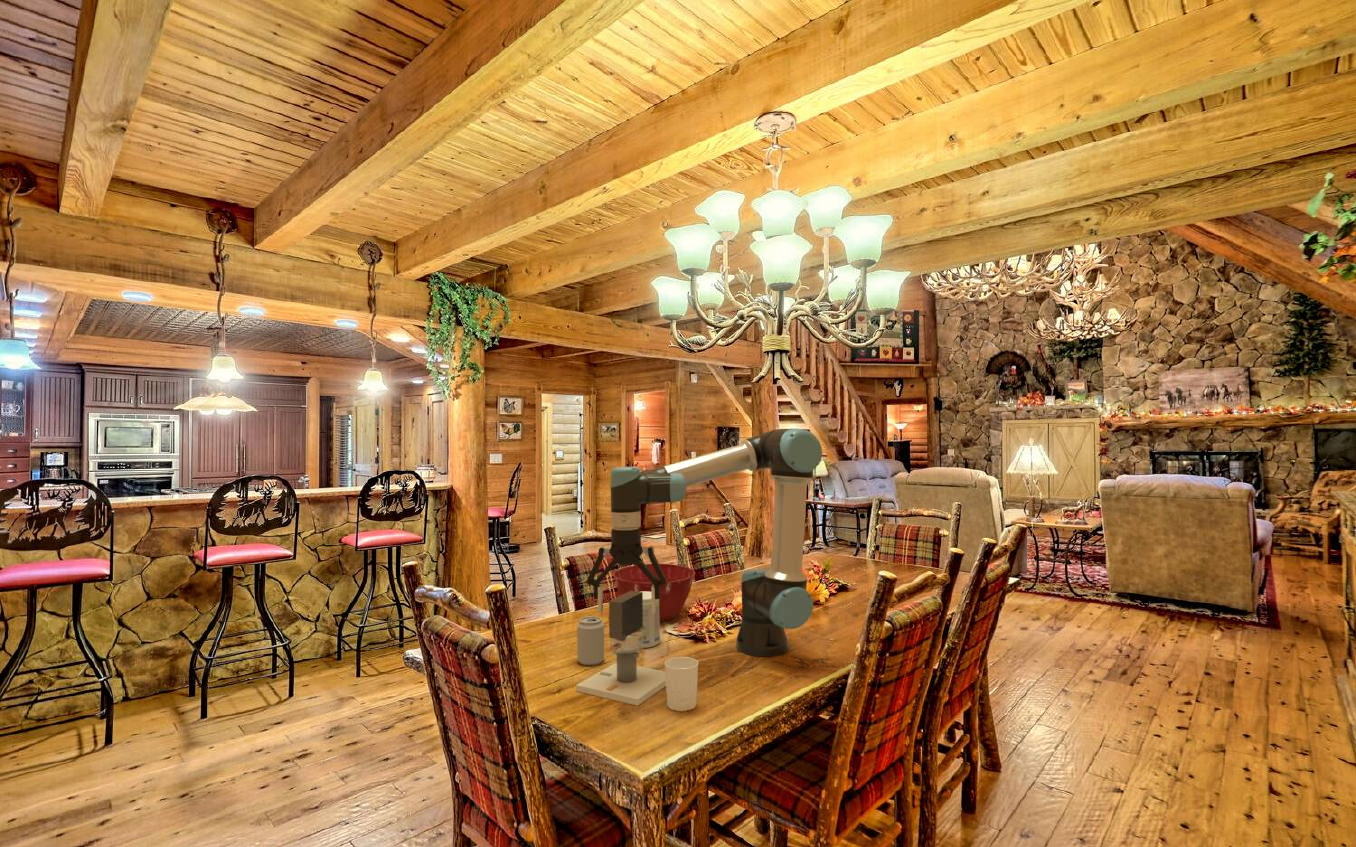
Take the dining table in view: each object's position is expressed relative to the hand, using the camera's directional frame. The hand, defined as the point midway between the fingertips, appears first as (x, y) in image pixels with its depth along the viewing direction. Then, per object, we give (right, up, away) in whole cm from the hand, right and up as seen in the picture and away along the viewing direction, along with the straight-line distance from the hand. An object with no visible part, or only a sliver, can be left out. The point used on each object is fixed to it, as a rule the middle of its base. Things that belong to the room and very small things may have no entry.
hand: (627, 611), depth 160 cm
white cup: (+14, -18, -13) cm, 26 cm away
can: (-11, -19, +16) cm, 27 cm away
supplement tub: (+3, -19, +31) cm, 37 cm away
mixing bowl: (+5, -20, +60) cm, 63 cm away
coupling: (0, -9, -1) cm, 9 cm away
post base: (0, -18, 0) cm, 18 cm away
